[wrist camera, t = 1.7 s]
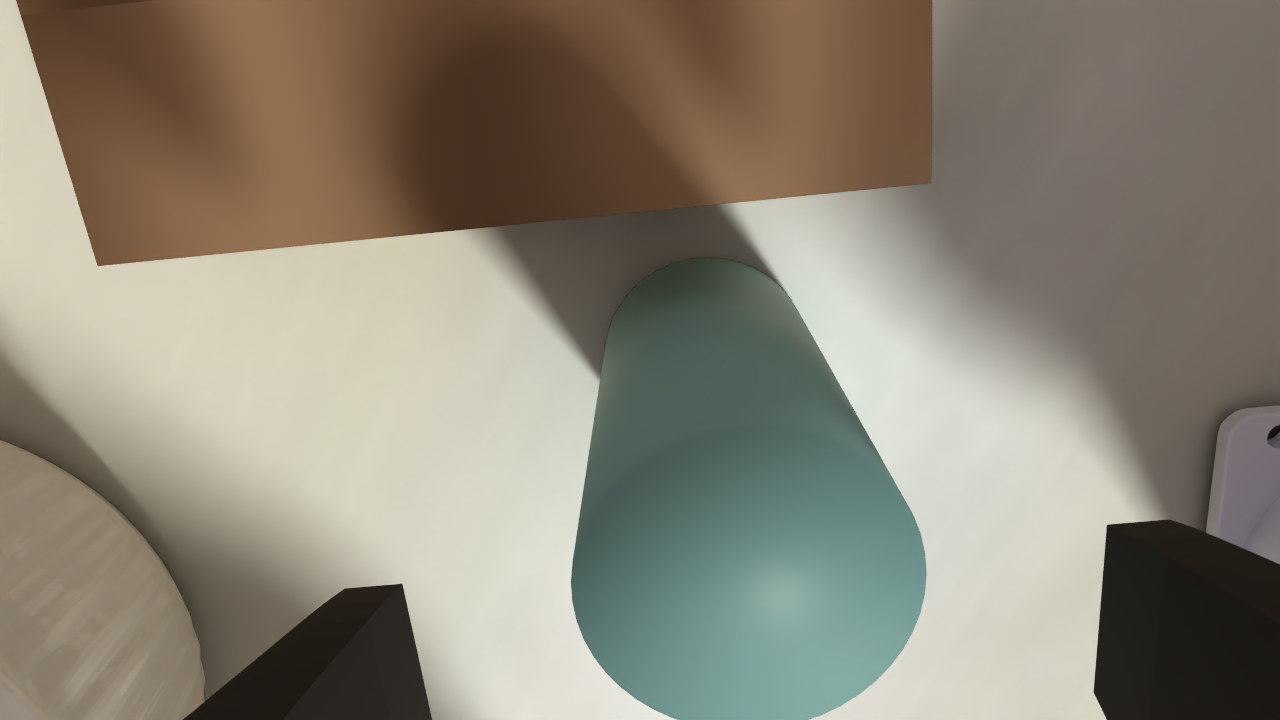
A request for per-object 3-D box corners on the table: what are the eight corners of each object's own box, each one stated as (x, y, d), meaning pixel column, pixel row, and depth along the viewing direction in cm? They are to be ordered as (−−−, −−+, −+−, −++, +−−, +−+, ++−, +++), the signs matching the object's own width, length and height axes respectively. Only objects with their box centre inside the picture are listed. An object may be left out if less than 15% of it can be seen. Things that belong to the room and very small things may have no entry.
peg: (803, 247, 17) (927, 408, 9) (811, 440, 18) (925, 717, 11) (593, 267, 17) (548, 441, 10) (616, 457, 18) (593, 742, 11)
